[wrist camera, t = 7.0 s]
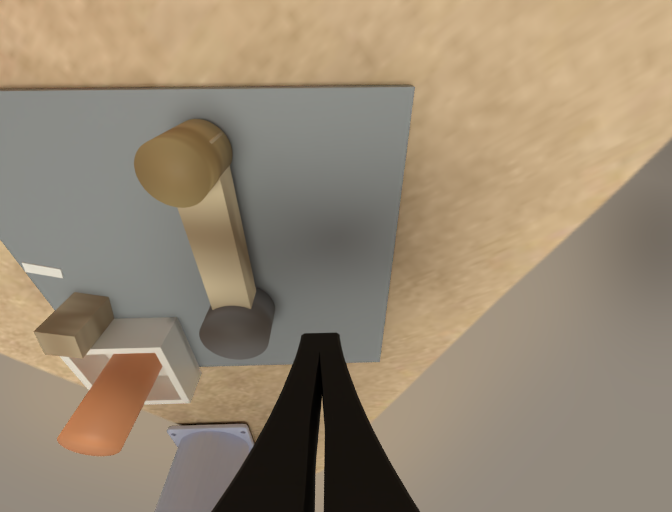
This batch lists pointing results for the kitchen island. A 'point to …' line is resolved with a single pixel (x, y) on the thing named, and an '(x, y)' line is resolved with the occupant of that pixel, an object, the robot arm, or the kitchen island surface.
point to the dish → (145, 337)
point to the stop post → (75, 325)
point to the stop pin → (111, 405)
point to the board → (251, 192)
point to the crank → (210, 232)
